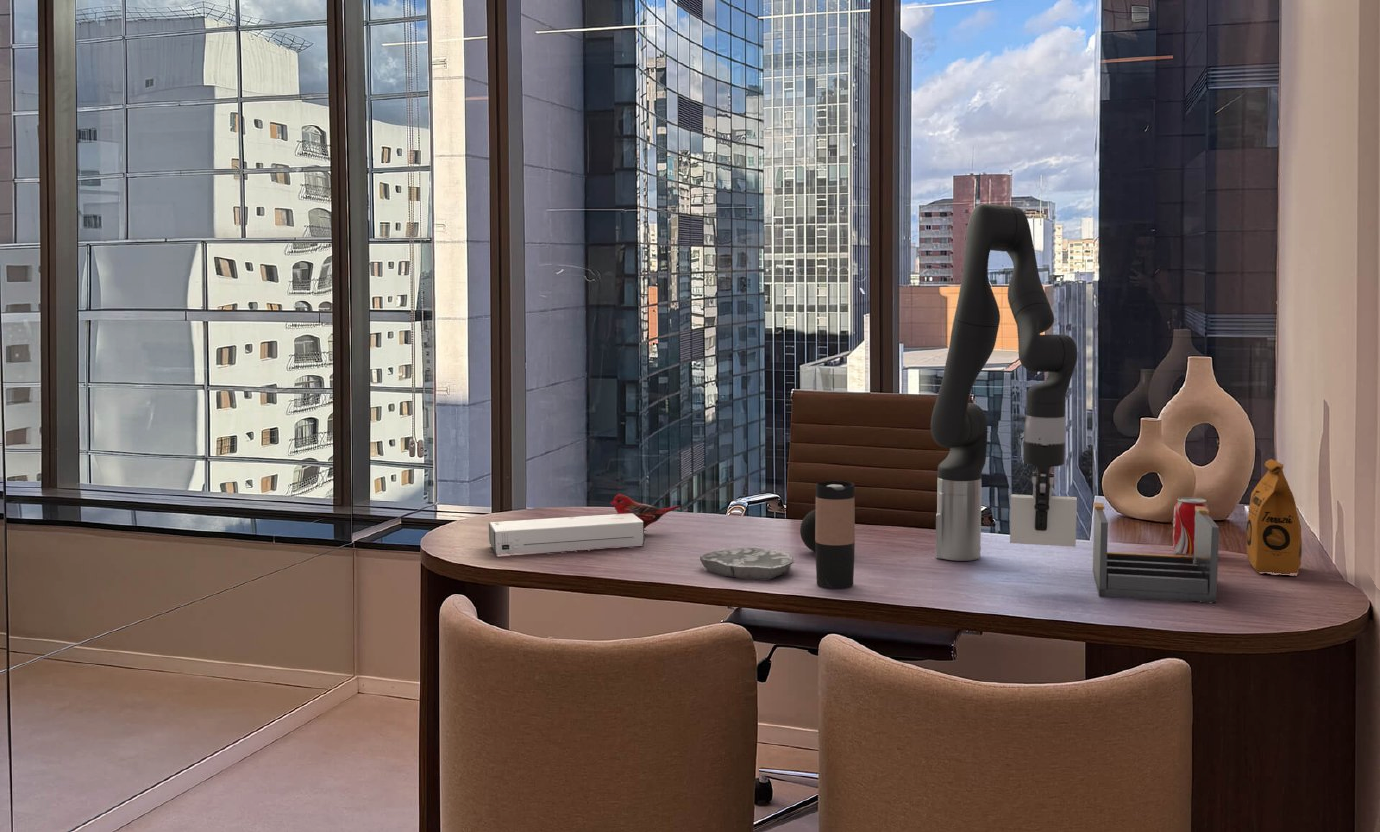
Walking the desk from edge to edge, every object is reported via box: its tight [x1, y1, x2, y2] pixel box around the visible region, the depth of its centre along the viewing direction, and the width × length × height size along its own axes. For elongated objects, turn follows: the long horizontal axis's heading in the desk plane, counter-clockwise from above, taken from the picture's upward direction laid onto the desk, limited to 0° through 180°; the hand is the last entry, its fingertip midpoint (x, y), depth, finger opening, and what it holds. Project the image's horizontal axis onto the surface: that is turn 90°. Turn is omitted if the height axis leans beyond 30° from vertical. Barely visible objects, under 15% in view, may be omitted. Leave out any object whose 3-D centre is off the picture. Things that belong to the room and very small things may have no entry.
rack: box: [1092, 502, 1220, 603], centre depth 215 cm, size 21×20×14 cm
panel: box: [1009, 494, 1078, 548], centre depth 215 cm, size 12×3×9 cm, turn 73°
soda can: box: [1172, 496, 1210, 558], centre depth 241 cm, size 7×7×12 cm
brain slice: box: [699, 547, 795, 580], centre depth 233 cm, size 20×17×3 cm
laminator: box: [488, 513, 645, 556], centre depth 256 cm, size 34×12×6 cm, turn 106°
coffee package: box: [1245, 458, 1303, 574], centre depth 226 cm, size 10×12×22 cm
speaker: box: [799, 508, 816, 553], centre depth 247 cm, size 10×10×10 cm
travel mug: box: [815, 480, 856, 590], centre depth 219 cm, size 8×8×20 cm
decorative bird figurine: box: [609, 493, 681, 531], centre depth 270 cm, size 3×18×10 cm, turn 108°
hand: (1040, 527), depth 215 cm, fingers closed on panel, 3 cm apart
